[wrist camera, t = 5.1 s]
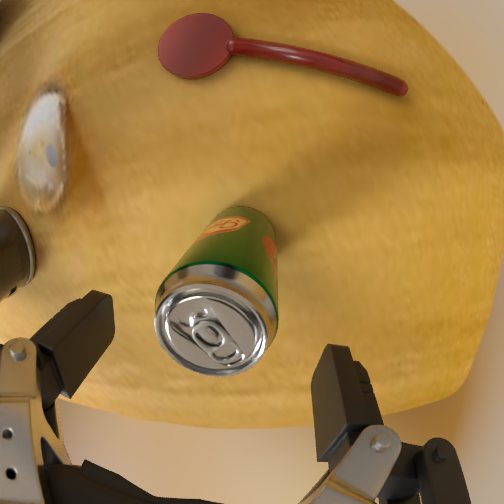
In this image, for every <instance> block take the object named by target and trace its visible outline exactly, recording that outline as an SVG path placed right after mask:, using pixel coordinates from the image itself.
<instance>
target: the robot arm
mask: <svg viewBox="0 0 504 504" xmlns="http://www.w3.org/2000/svg"><path fill="white" fill-rule="evenodd" d="M34 272H35V252H34V247H33V243H32V239H31V236H30V234H29V231H28V229H27V227H26V225H25V223H24V221H23V220H22V218H21V217H20V216H19V214H18V213H17V212H16V211H14V210H13V209H11V208H9V207H2V208H0V302H2V301H3V300H4V299H7V297H8V296H9V297H10V296H11V294H12V293H14V292H15V291H16V290H18V289H19V288H21V287H23V286H25V285H26V284H28V283H29V282H30V281H31V280H32V278H33V276H34ZM15 293H16V292H15ZM12 295H13V294H12ZM114 334H115V323H114V312H113V300H112V297H111V295H108V294H105V293H102V292H99V291H96V290H92V291H90V292H89V293H88V294H87V295H86V296H85V297H83V298H82V299H80V298H79V299H77V300H75V301H73V302H70V303H68V304H67V305H66V306H65V307H64V308H62V309H61V310H60V313H59V312H58V313H57V314H56V315H55V316H54V318H51V319H50V320H49V321H48V322H47V323H46V324H45V325H44V326H43V327H42V328H41V329H40V330H39V331H37V332H36V333H35V334H34V335H33V336H32V337H31V338H30V339H27V338H21V337H19V338H14V339H11V340H9V341H8V342H7V343H5V344H4V345H3V344H0V504H222V503H216V502H211V501H205V500H201V499H178V498H163V497H156V496H153V495H151V494H149V493H148V492H146V491H144V490H142V489H141V488H139V487H137V486H136V485H134V484H133V483H131V482H129V481H128V480H126V479H125V478H123V477H122V476H120V475H119V474H116V473H114V472H112V471H109V470H107V469H105V468H102V467H100V466H98V465H96V464H94V463H92V462H90V461H87V460H84V462H83V464H82V466H78V465H72V463H71V460H70V458H69V455H68V453H67V451H66V448H65V445H64V441H63V436H62V430H61V423H60V417H59V409H58V402H57V400H56V398H57V397H58V396H59V394H62V395H63V396H65V397H67V398H69V399H71V398H72V396H73V395H74V393H75V392H76V390H77V389H78V387H79V386H80V385H81V383H82V382H83V380H84V379H85V378H86V376H87V375H88V373H89V372H90V371H91V369H92V368H93V367H94V365H95V364H96V362H97V361H98V360H99V358H100V357H101V356H102V354H103V353H104V352H105V350H106V349H107V348H108V346H109V345H110V344H111V342H112V340H113V338H114ZM311 395H312V405H313V416H314V427H315V438H316V452H317V462H328V464H329V469H328V470H327V471H326V473H325V474H324V475H323V476H322V477H321V479H320V480H319V481H318V482H317V483H316V484H315V486H314V487H313V488H312V489H311V490H310V491H309V493H307V495H306V496H305V497H304V498H303V499H302V500H301V501H300V502H299V503H298V504H377V503H375V502H374V501H375V499H376V497H378V498H379V504H421V503H420V497H419V493H420V495H421V500H422V504H471V501H470V497H469V493H468V490H467V486H466V482H465V479H464V475H463V472H462V469H461V466H460V462H459V459H458V456H457V453H456V451H455V448H454V447H453V446H452V444H451V443H450V442H449V441H447V440H445V439H442V438H433V439H430V440H429V441H428V442H427V443H426V444H425V445H424V446H417V445H412V444H407V443H403V442H401V440H400V438H399V436H398V435H397V433H395V431H393V430H392V429H390V428H389V427H387V426H384V424H383V420H382V417H381V414H380V410H379V407H378V404H377V401H376V397H375V394H374V393H373V388H372V385H371V384H370V379H369V376H368V373H367V371H366V369H365V368H364V367H363V366H362V365H361V363H360V362H359V361H353V359H352V355H351V352H350V349H349V347H348V346H341V345H333V344H327V345H326V347H325V349H324V351H323V354H322V356H321V358H320V360H319V363H318V365H317V367H316V369H315V372H314V374H313V377H312V382H311Z"/></svg>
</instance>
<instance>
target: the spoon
mask: <svg viewBox="0 0 504 504" xmlns="http://www.w3.org/2000/svg"><path fill="white" fill-rule="evenodd" d="M231 55H240V56H248V57H255V58H262V59H268V60H274V61H280V62H285V63H290V64H295V65H300V66H304V67H308V68H313V69H317V70H321V71H325V72H328V73H332V74H336V75H339V76H342V77H346V78H349V79H352V80H355V81H359V82H362V83H365V84H368V85H370V86H373V87H376V88H379V89H381V90H384V91H387V92H389V93H392V94H394V95H397V96H404V95H405V94H406V93H407V92H408V85H407V83H406V82H405V81H404V80H402V79H400V78H397V77H395V76H393V75H390V74H388V73H385V72H382V71H380V70H377V69H374V68H372V67H369V66H366V65H363V64H360V63H357V62H354V61H351V60H347V59H344V58H341V57H337V56H334V55H330V54H326V53H322V52H319V51H314V50H310V49H306V48H301V47H297V46H292V45H286V44H281V43H275V42H269V41H262V40H255V39H247V38H238V37H234V36H233V33H232V30H231V28H230V26H229V25H228V24H227V23H226V22H225V21H224V20H223V19H221V18H220V17H218V16H215V15H212V14H206V13H198V14H192V15H188V16H185V17H183V18H181V19H179V20H177V21H176V22H174V23H173V24H172V25H171V26H169V27H168V28H167V30H166V31H165V32H164V34H163V35H162V37H161V39H160V42H159V46H158V56H159V60H160V62H161V64H162V65H163V67H164V68H165V69H166V70H168V71H169V72H170V73H172V74H174V75H175V76H178V77H181V78H185V79H197V78H202V77H205V76H208V75H210V74H213V73H214V72H216V71H218V70H219V69H220V68H221V67H223V66H224V65H225V64H226V62H227V61H228V60H229V58H230V57H231Z"/></svg>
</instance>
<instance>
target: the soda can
mask: <svg viewBox="0 0 504 504" xmlns="http://www.w3.org/2000/svg"><path fill="white" fill-rule="evenodd" d="M278 321H279V315H278V279H277V250H276V234H275V231H274V228H273V226H272V224H271V223H270V221H269V220H268V219H267V218H266V216H265V215H263V214H262V213H261V212H259V211H257V210H255V209H252V208H249V207H244V206H237V207H232V208H228V209H226V210H224V211H222V212H221V213H219V214H218V215H217V216H216V217H215V218H214V219H213V220H212V221H211V223H210V224H209V225H208V226H207V227H206V229H205V230H204V231H203V232H202V233H201V235H200V236H199V237H198V238H197V239H196V241H195V242H194V243H193V244H192V245H191V247H190V248H189V249H188V250H187V252H186V253H185V254H184V255H183V257H182V258H181V259H180V260H179V262H178V263H177V264H176V265H175V267H174V268H173V269H172V270H171V272H170V273H169V274H168V275H167V277H166V278H165V279H164V281H163V282H162V284H161V285H160V287H159V289H158V292H157V294H156V299H155V318H154V326H155V332H156V335H157V338H158V340H159V342H160V344H161V346H162V347H163V349H164V350H165V351H166V353H167V354H168V355H169V356H170V357H171V358H172V359H173V360H175V361H176V362H177V363H178V364H180V365H182V366H183V367H185V368H187V369H189V370H191V371H193V372H196V373H199V374H203V375H207V376H215V377H225V376H232V375H236V374H240V373H242V372H244V371H247V370H248V369H250V368H251V367H253V366H254V365H255V364H256V363H258V361H259V360H260V359H261V358H262V356H263V354H264V352H265V351H266V350H267V349H268V347H269V346H270V345H271V344H272V342H273V340H274V338H275V336H276V333H277V329H278Z"/></svg>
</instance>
